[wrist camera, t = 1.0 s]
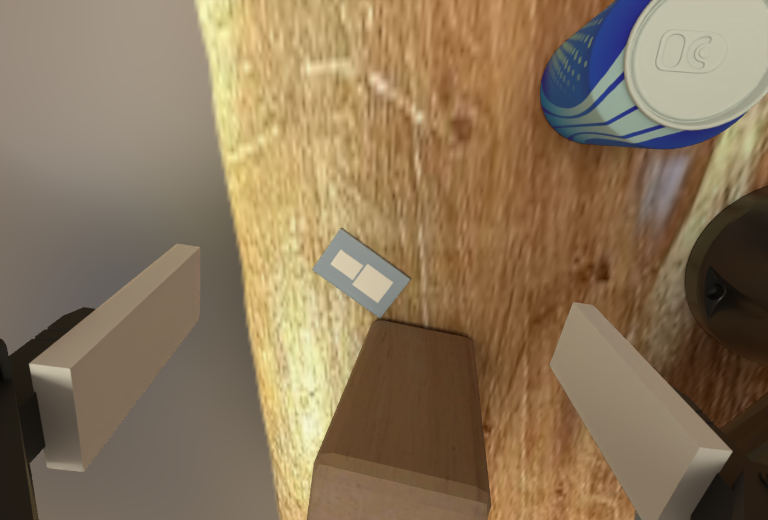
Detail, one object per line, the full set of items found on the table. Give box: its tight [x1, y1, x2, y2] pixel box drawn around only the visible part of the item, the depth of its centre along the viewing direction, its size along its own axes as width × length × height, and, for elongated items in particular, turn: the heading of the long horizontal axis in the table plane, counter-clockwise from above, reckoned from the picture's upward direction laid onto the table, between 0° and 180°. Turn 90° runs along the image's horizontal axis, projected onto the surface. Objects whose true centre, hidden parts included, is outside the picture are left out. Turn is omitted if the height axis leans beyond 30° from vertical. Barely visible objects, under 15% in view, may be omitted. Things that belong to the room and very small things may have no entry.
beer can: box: [540, 0, 768, 149], centre depth 27 cm, size 8×8×16 cm
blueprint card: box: [312, 228, 411, 318], centre depth 41 cm, size 8×5×1 cm, turn 55°
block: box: [307, 320, 491, 520], centre depth 34 cm, size 10×10×20 cm
